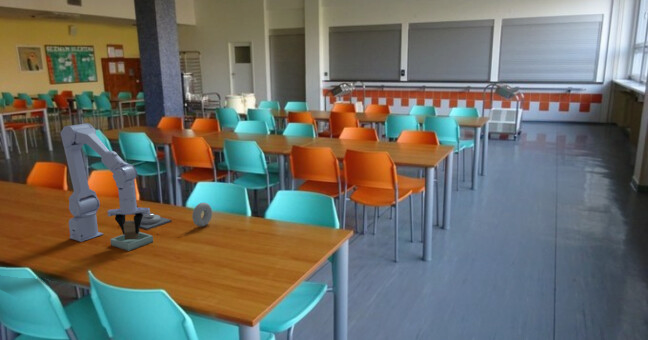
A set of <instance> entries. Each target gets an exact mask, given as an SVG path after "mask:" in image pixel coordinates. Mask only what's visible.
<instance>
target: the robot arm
mask: <svg viewBox="0 0 648 340" xmlns="http://www.w3.org/2000/svg"><path fill="white" fill-rule="evenodd" d="M96 130H97V129H95V127H94V126H93V125H92V124H91V123H88V122H85V123H81V124H73V125H72V124H71V125H65V126H63V128H62V130H61V131H60V137H61V141H62V145H63V149H64V155H65V158H66V162H67V166H68V170H69V176H70V179H71V180H70V181H71V184H72V188H73V189H72V190H73V192H72V193H71V195H70V196H69V197H68V201H69V203H68V204H69V205H68V210H69V212H70V214H71V215H72V216H73V217H71V218H70V219H69V220H68V229H69V239H71V240H75V241H77V242H81V243H82V242H84V241H88V240H91V239H94V238H96V237H100V236H103V235H104V232H100V231H99V229H98V228H99V227H98V219H97V213H98V211H99V209H100V207H101V203H100V199H99V198H98V197H97V193H96V191H95V190H93V189H91V188H90V185H89V180H88V176H87V171H86V168H85V162H84V159H83V153H82V148H83V146H84V145H87V146H89V147H90V148H91V149H92V150H93V151H94V152H95V153H96V154H97V155H99V156H100V157H101V163H102V164H104V166H105V167H106V168H107V169H108V170H109V171H110V172H111V173H112V178H113V181H115V186H116V187H117V190H118V191H117V192H118V199H119V208H115V209H108V210H107V217H112V216H115V217H114V220H115V221H116V223H117V224H118V226H119V227H120V229H121V232H122V235H124V226H123V224H124V223H125V222H126V216H127V215H128V216H129V215H131V216H132V215H133V220H134V221H135V229H136V234H138V233H139V232H140V229H141V228H140V223H141V220H142V217H143V214H150V213H151V210H150V207H139V206H138V204H137V197H136V196H137V195H136V193H137V192H136V186H135V185H136V183H135V180H136V178H137V177H138V170H137V169H136V167H135V165H133V164H131V163H128V162H125V160H123V159H122V158H121V157H120V155H118V153H117V151H113V150H109V149H108V148H107V147H106V145H105V144H104V142H103V141H101V139H100V138H99V136H98V135H97V132H96ZM137 206H138V207H137ZM134 214H135V215H134Z"/></svg>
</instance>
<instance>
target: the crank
mask: <svg viewBox="0 0 648 340" xmlns="http://www.w3.org/2000/svg"><path fill="white" fill-rule="evenodd" d="M137 207H138V208H139V205H137ZM154 215H155V213H153V212H150V214H143V216H145V217H146V218H153V217H154ZM133 216H135V214H134V215H133Z"/></svg>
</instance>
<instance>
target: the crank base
mask: <svg viewBox="0 0 648 340" xmlns="http://www.w3.org/2000/svg"><path fill="white" fill-rule="evenodd" d="M168 223H172V219H169V218H165V217H162V216H161V215H159V214H154V217H153V218H146V217H145V216H143V217H142V220H141V223H140V228H139V229H144V230H152V229H154V228H157V227H160V226H163V225H165V224H168Z"/></svg>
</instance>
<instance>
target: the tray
mask: <svg viewBox="0 0 648 340" xmlns="http://www.w3.org/2000/svg"><path fill="white" fill-rule="evenodd" d="M109 240H110V246H112V247H115V248H118V249H120V250H121V249H122V250H125V251H128V252H131V251H132V250H135V249H139V248H141V247H142V246H146V245H149V244H151V243H154V236H153V235H151V234H148V233H145V232H141V231H139V236H138V237H137V239H129V240H125V236H124V234H121V235H118V236H115V237H112V238H110V239H109Z"/></svg>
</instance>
